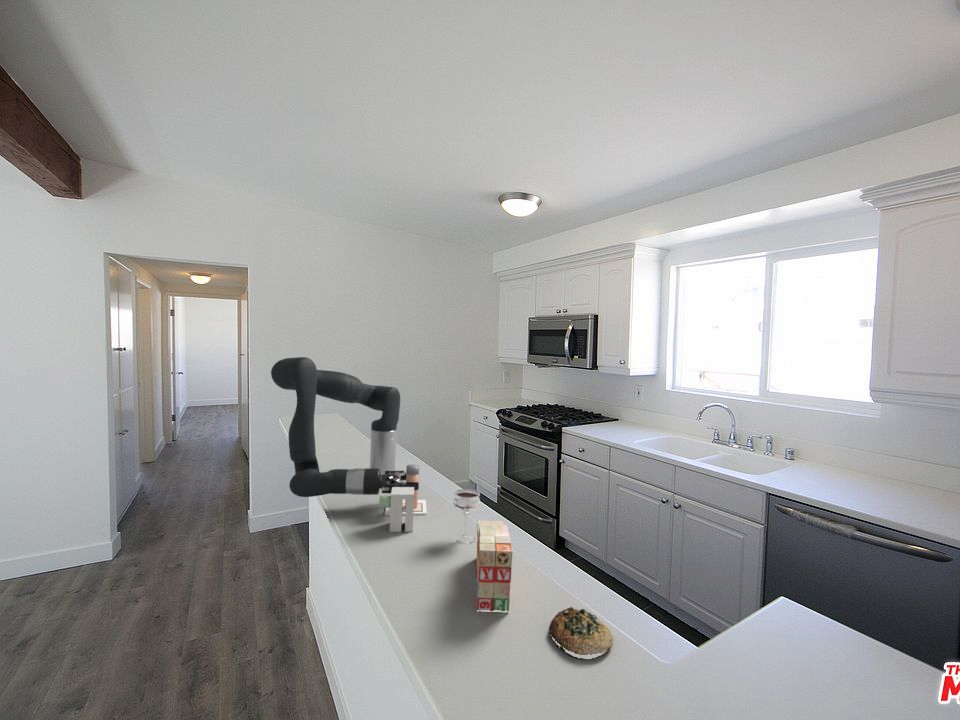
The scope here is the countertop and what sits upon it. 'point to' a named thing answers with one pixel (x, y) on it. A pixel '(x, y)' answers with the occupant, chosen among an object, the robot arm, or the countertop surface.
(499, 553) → the stack of blocks
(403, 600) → the countertop surface
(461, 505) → the wineglass
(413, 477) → the terracotta marker
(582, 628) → the bread roll
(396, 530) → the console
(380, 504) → the button
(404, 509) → the white square board
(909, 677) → the countertop surface
